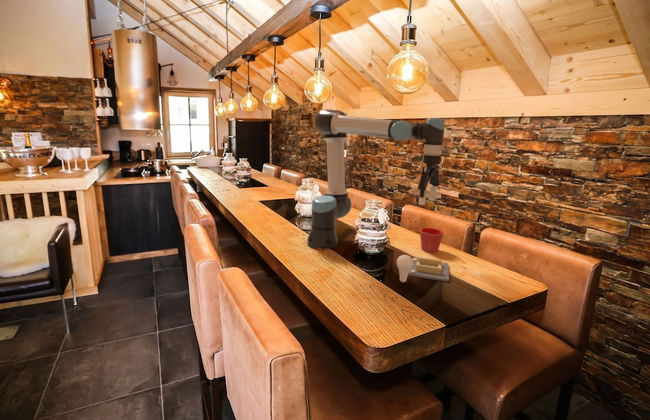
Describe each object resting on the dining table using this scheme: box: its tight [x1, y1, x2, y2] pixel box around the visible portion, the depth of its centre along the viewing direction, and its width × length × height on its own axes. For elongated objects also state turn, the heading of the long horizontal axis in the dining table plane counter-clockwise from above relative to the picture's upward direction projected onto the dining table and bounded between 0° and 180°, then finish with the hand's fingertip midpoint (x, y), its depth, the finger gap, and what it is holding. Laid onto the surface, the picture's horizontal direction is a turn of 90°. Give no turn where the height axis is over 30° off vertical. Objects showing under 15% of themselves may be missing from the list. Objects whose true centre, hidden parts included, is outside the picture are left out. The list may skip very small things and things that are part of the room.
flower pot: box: [419, 227, 444, 253], centre depth 173 cm, size 11×11×10 cm
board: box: [407, 256, 450, 283], centre depth 149 cm, size 16×18×4 cm
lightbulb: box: [396, 254, 413, 283], centre depth 136 cm, size 6×6×11 cm
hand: (427, 202), depth 160 cm, fingers open, 13 cm apart
